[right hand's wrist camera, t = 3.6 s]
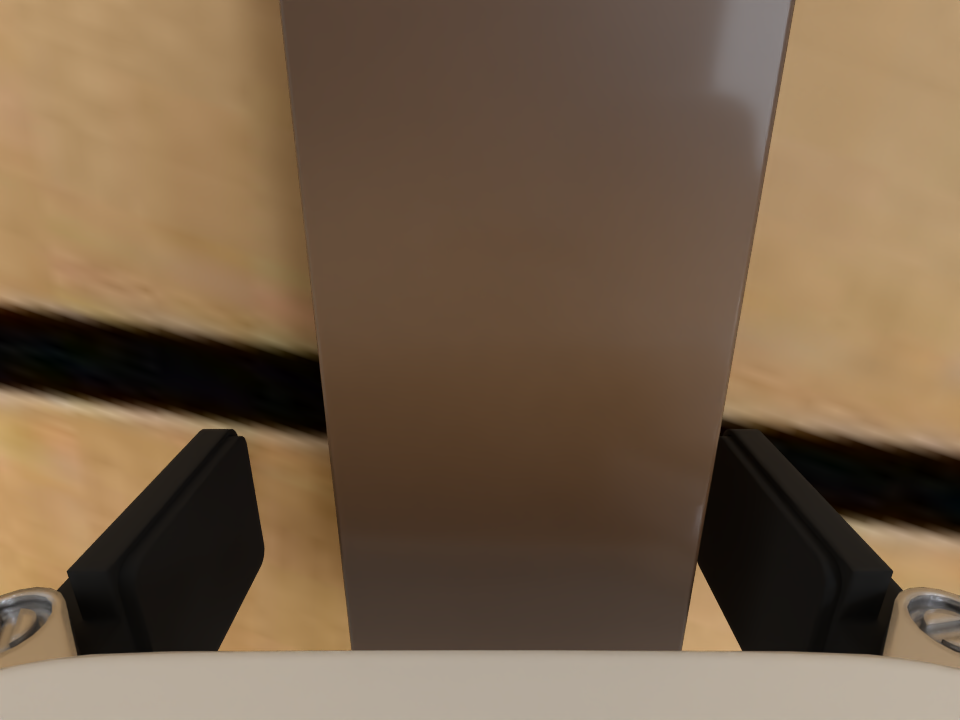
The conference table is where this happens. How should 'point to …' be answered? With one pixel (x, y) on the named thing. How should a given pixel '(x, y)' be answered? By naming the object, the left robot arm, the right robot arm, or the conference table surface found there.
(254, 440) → the conference table surface
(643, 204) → the beam
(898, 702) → the right robot arm
